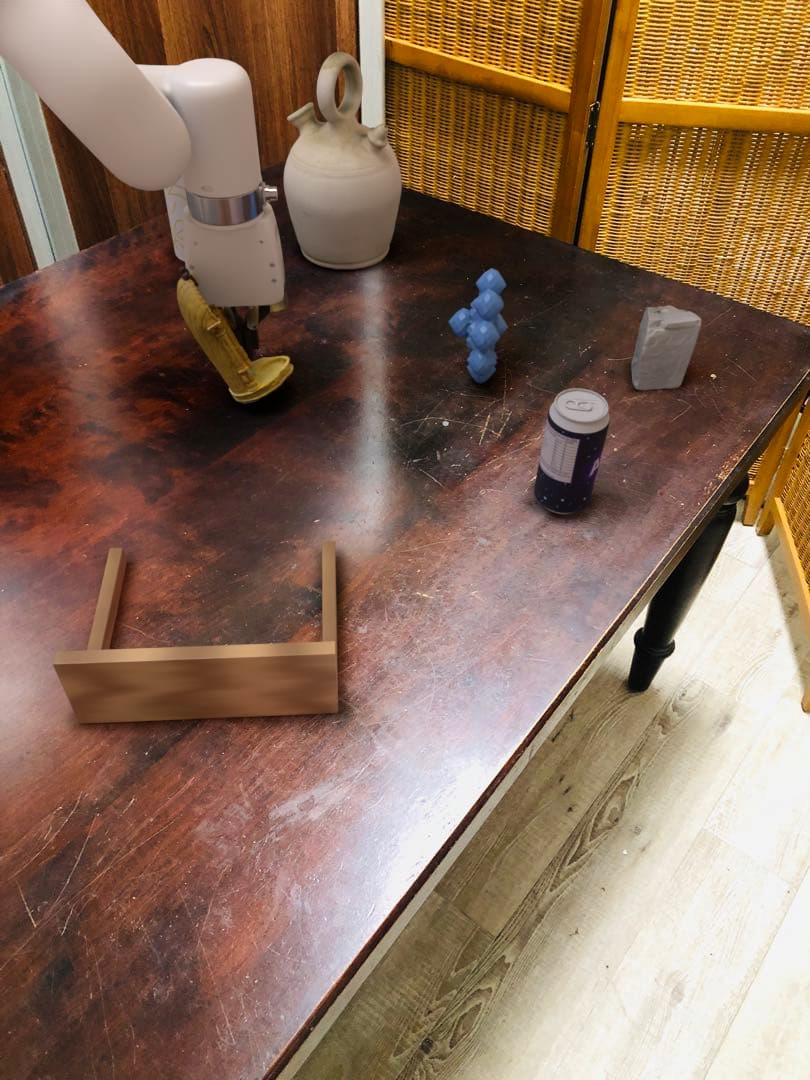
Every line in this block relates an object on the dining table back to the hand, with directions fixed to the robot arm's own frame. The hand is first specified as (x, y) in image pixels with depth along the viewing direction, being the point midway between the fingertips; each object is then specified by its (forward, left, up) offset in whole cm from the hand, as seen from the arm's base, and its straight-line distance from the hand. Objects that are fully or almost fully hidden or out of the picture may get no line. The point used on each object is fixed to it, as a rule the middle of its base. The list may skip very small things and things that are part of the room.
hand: (246, 353), depth 101 cm
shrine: (-2, -4, -2) cm, 5 cm away
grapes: (+23, -13, -2) cm, 27 cm away
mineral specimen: (+41, -24, -2) cm, 48 cm away
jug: (+23, +19, -2) cm, 30 cm away
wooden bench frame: (-18, -34, -2) cm, 38 cm away
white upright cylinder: (+6, +28, -2) cm, 29 cm away
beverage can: (+18, -36, -2) cm, 40 cm away
